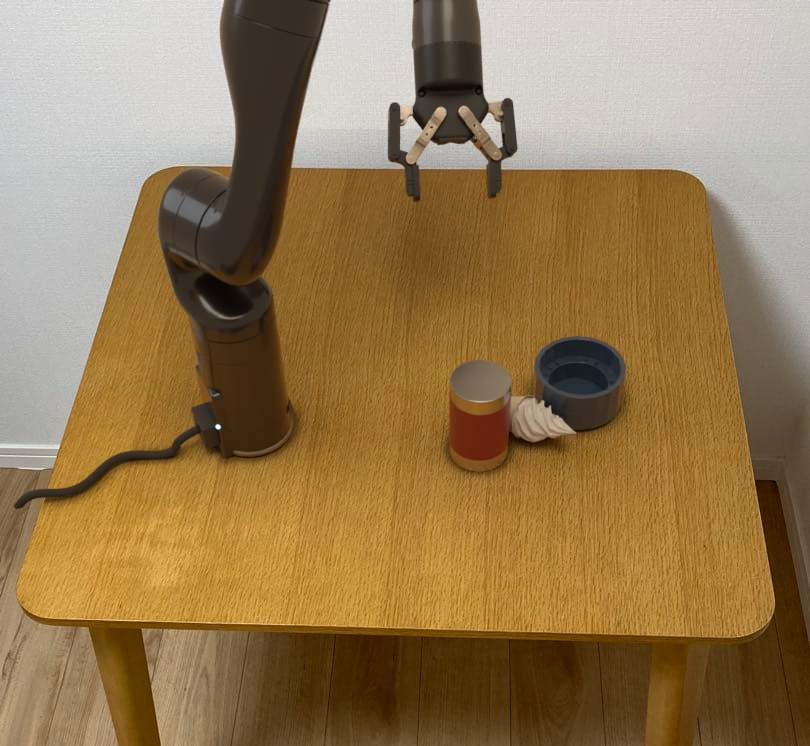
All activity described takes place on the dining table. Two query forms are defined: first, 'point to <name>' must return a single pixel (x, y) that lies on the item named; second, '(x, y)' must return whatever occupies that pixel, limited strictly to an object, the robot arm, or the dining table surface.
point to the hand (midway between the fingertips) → (454, 199)
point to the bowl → (580, 381)
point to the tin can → (479, 415)
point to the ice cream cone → (535, 420)
